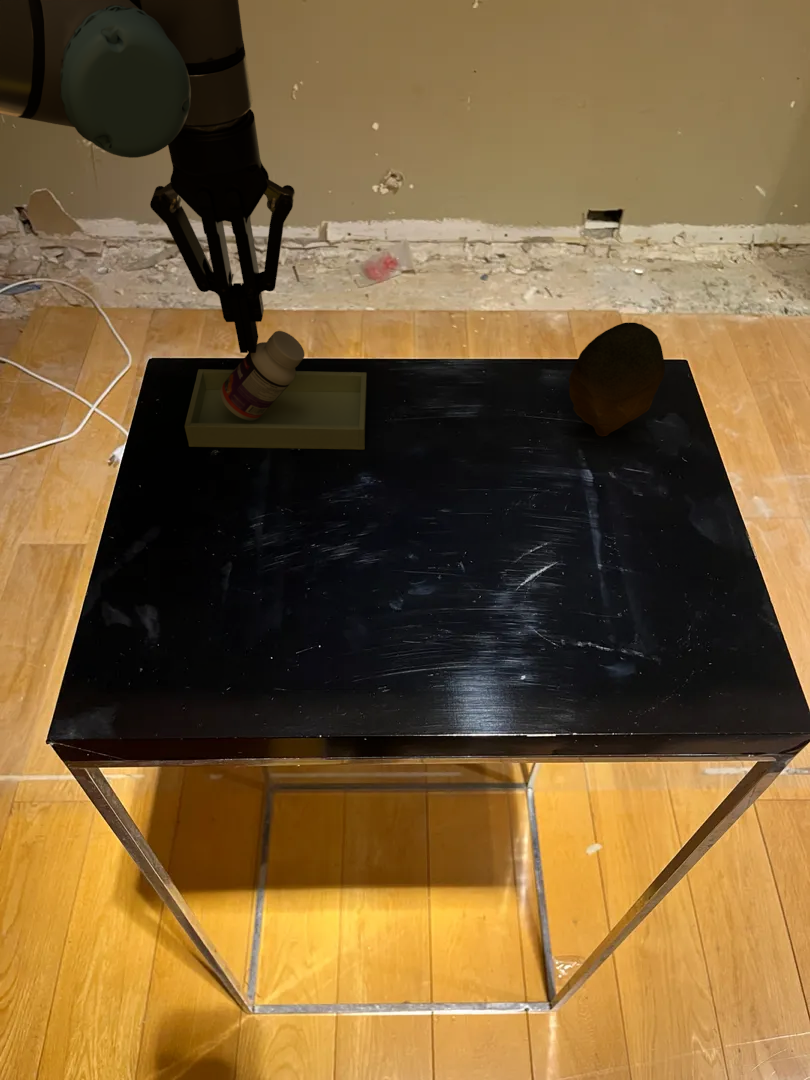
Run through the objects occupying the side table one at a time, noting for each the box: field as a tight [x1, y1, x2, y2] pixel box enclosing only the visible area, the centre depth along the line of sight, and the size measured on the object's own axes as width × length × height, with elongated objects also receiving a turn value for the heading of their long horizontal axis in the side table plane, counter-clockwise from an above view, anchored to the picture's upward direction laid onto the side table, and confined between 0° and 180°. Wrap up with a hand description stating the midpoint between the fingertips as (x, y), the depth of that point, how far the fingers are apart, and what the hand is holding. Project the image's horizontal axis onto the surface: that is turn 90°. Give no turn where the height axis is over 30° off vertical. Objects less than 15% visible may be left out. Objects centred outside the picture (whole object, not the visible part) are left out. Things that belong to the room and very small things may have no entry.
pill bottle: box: [220, 330, 305, 421], centre depth 89 cm, size 5×5×10 cm
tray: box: [184, 368, 368, 451], centre depth 93 cm, size 19×10×3 cm, turn 90°
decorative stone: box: [568, 322, 666, 437], centre depth 88 cm, size 10×6×15 cm, turn 90°
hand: (249, 344), depth 86 cm, fingers closed
